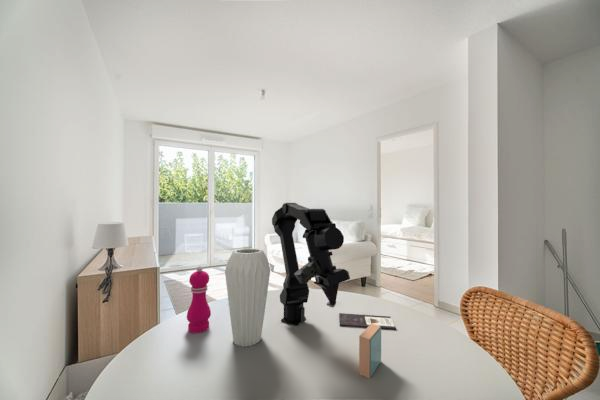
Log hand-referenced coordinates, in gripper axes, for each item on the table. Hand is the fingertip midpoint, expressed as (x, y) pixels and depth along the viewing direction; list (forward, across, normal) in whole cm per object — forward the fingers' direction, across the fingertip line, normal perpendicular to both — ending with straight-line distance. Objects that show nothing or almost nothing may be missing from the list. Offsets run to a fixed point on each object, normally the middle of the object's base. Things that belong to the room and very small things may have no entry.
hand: (333, 304), depth 73 cm
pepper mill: (-1, -24, -38) cm, 45 cm away
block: (+14, +9, +2) cm, 17 cm away
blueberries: (+10, -30, +11) cm, 33 cm away
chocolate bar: (+14, -13, +15) cm, 24 cm away
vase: (+5, -13, -24) cm, 28 cm away
